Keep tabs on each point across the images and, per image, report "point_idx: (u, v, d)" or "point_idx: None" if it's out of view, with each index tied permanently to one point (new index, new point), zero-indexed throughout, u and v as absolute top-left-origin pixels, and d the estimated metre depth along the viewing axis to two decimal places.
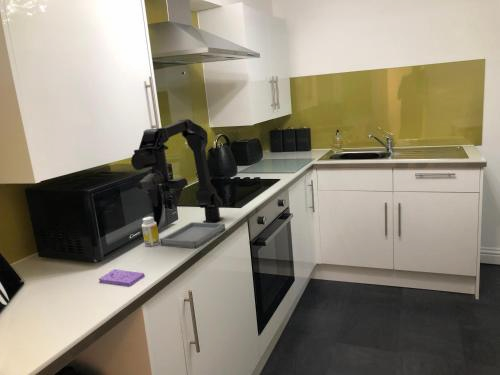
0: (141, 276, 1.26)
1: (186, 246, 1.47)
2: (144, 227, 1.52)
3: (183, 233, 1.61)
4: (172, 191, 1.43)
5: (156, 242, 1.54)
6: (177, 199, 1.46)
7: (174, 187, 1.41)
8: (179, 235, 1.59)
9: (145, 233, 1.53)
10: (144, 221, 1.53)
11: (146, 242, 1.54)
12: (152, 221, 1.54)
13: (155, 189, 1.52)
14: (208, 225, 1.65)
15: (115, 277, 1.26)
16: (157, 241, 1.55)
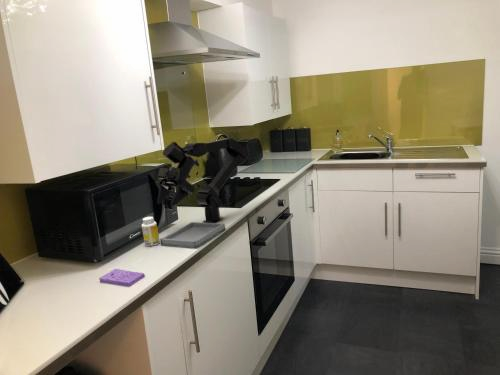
0: (141, 276, 1.26)
1: (186, 246, 1.47)
2: (144, 227, 1.52)
3: (183, 233, 1.61)
4: (177, 188, 1.55)
5: (156, 242, 1.54)
6: (176, 200, 1.56)
7: (180, 184, 1.54)
8: (179, 235, 1.59)
9: (145, 233, 1.53)
10: (144, 221, 1.53)
11: (146, 242, 1.54)
12: (152, 221, 1.54)
13: (167, 192, 1.65)
14: (208, 225, 1.65)
15: (115, 277, 1.26)
16: (157, 241, 1.55)
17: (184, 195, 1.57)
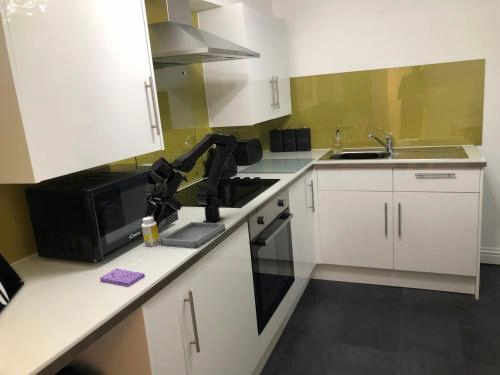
0: (141, 276, 1.25)
1: (186, 246, 1.47)
2: (144, 227, 1.52)
3: (183, 233, 1.61)
4: (164, 204, 1.51)
5: (156, 242, 1.54)
6: (163, 216, 1.52)
7: (167, 200, 1.50)
8: (179, 235, 1.59)
9: (145, 233, 1.53)
10: (144, 221, 1.53)
11: (146, 242, 1.54)
12: (152, 221, 1.54)
13: (154, 208, 1.62)
14: (208, 225, 1.65)
15: (116, 276, 1.26)
16: (157, 241, 1.55)
17: (171, 212, 1.54)
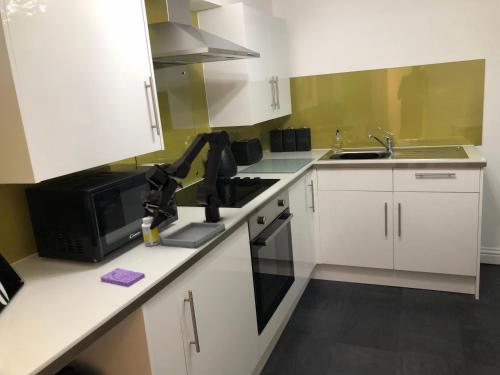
0: (141, 276, 1.25)
1: (186, 246, 1.47)
2: (144, 227, 1.52)
3: (183, 233, 1.61)
4: (156, 211, 1.51)
5: (156, 242, 1.54)
6: (156, 223, 1.52)
7: (162, 208, 1.49)
8: (179, 235, 1.59)
9: (145, 233, 1.53)
10: (144, 221, 1.53)
11: (146, 242, 1.54)
12: None
13: (152, 215, 1.59)
14: (208, 225, 1.65)
15: (116, 276, 1.26)
16: (157, 241, 1.55)
17: (164, 219, 1.54)
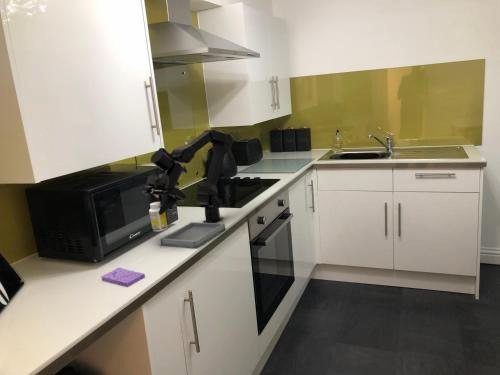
0: (141, 277, 1.25)
1: (186, 246, 1.47)
2: (152, 212, 1.50)
3: (183, 233, 1.61)
4: (165, 195, 1.49)
5: (165, 227, 1.52)
6: (164, 208, 1.50)
7: (172, 191, 1.47)
8: (179, 235, 1.59)
9: (154, 218, 1.50)
10: (152, 206, 1.50)
11: (155, 228, 1.51)
12: (160, 206, 1.51)
13: (158, 200, 1.57)
14: (208, 225, 1.65)
15: (116, 276, 1.27)
16: (166, 226, 1.53)
17: (172, 203, 1.52)
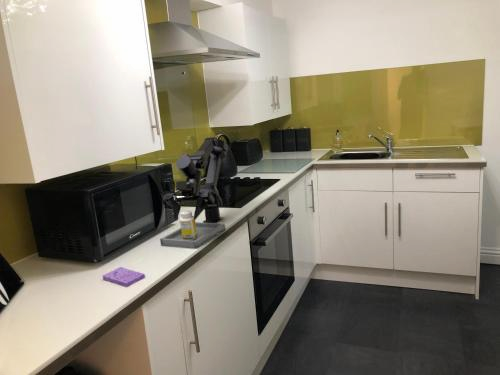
0: (141, 277, 1.25)
1: (186, 246, 1.47)
2: (186, 221, 1.50)
3: None
4: (199, 200, 1.50)
5: (196, 235, 1.53)
6: (198, 212, 1.51)
7: (205, 195, 1.50)
8: (179, 235, 1.59)
9: (187, 227, 1.50)
10: (185, 215, 1.50)
11: (187, 237, 1.51)
12: (191, 215, 1.52)
13: (179, 207, 1.56)
14: (208, 225, 1.65)
15: (117, 275, 1.27)
16: None
17: (203, 207, 1.53)
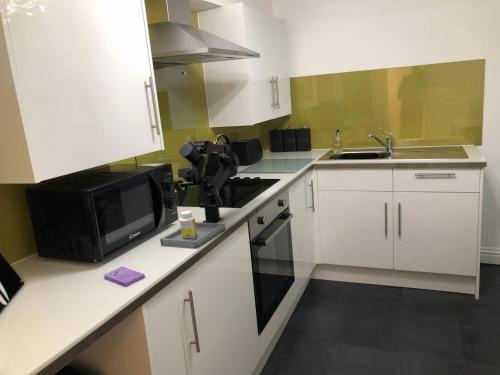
0: (141, 277, 1.25)
1: (186, 246, 1.47)
2: (186, 221, 1.50)
3: None
4: (201, 185, 1.57)
5: (196, 235, 1.53)
6: (202, 197, 1.58)
7: (204, 180, 1.56)
8: (179, 235, 1.59)
9: (187, 227, 1.50)
10: (185, 215, 1.50)
11: (187, 237, 1.51)
12: (191, 215, 1.52)
13: (185, 193, 1.65)
14: (208, 225, 1.65)
15: (117, 275, 1.27)
16: None
17: (207, 191, 1.59)
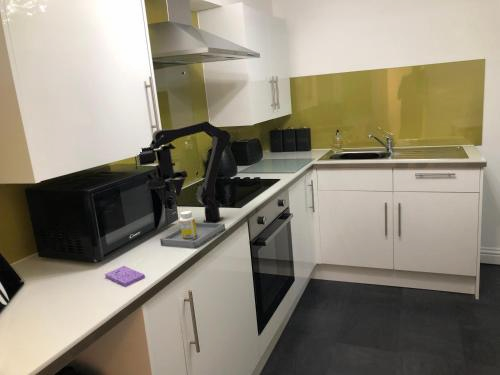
0: (140, 277, 1.25)
1: (186, 246, 1.47)
2: (186, 221, 1.50)
3: None
4: None
5: (196, 235, 1.53)
6: (161, 196, 1.62)
7: None
8: (179, 235, 1.59)
9: (187, 227, 1.50)
10: (185, 215, 1.50)
11: (187, 237, 1.51)
12: (191, 215, 1.52)
13: (179, 182, 1.70)
14: (208, 225, 1.65)
15: (118, 275, 1.27)
16: None
17: (162, 189, 1.60)
